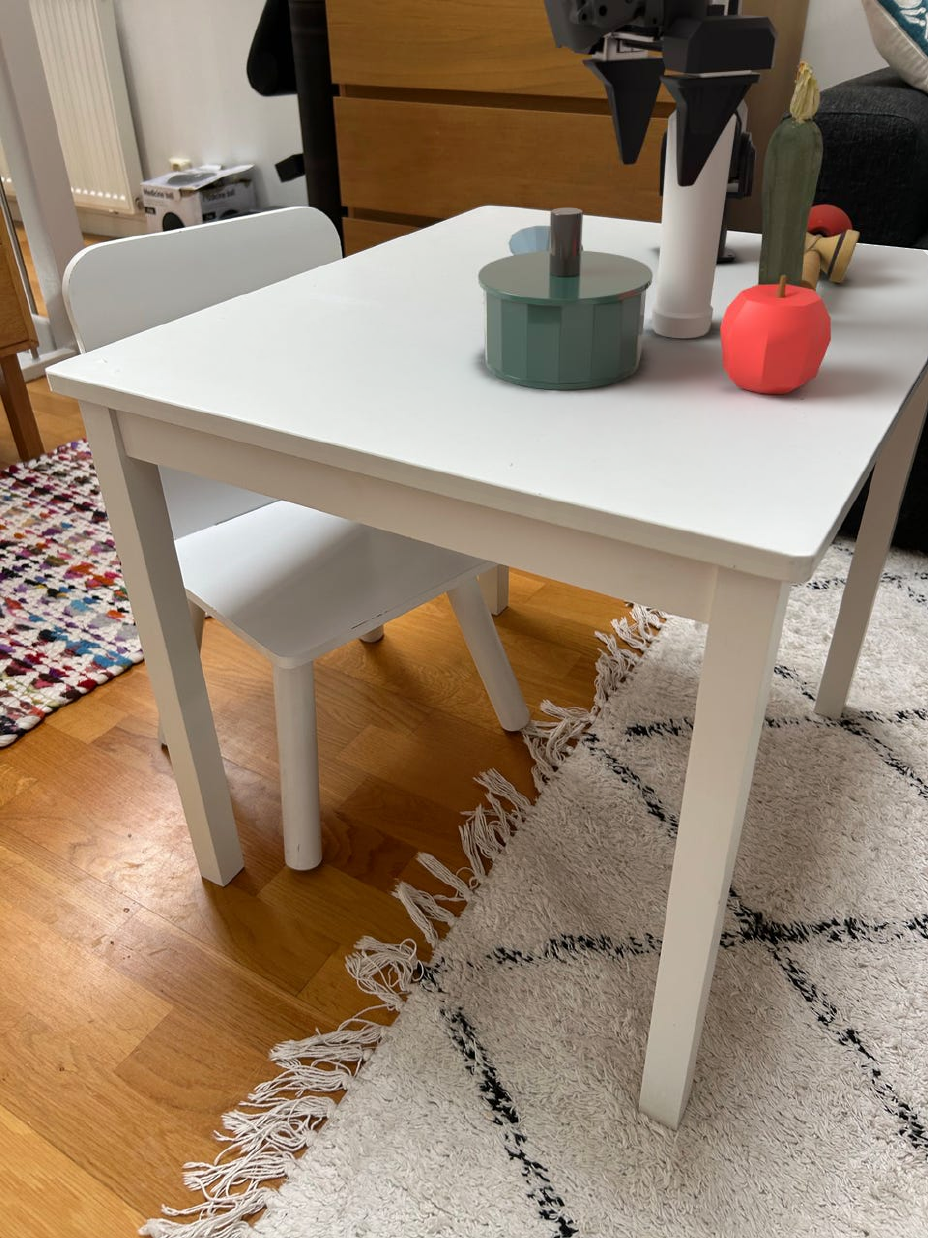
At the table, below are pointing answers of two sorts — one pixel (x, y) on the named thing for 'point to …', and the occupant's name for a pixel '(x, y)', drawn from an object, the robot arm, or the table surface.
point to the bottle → (691, 238)
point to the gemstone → (531, 240)
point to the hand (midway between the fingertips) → (655, 174)
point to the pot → (563, 342)
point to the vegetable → (790, 185)
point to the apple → (774, 337)
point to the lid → (565, 270)
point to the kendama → (827, 245)
